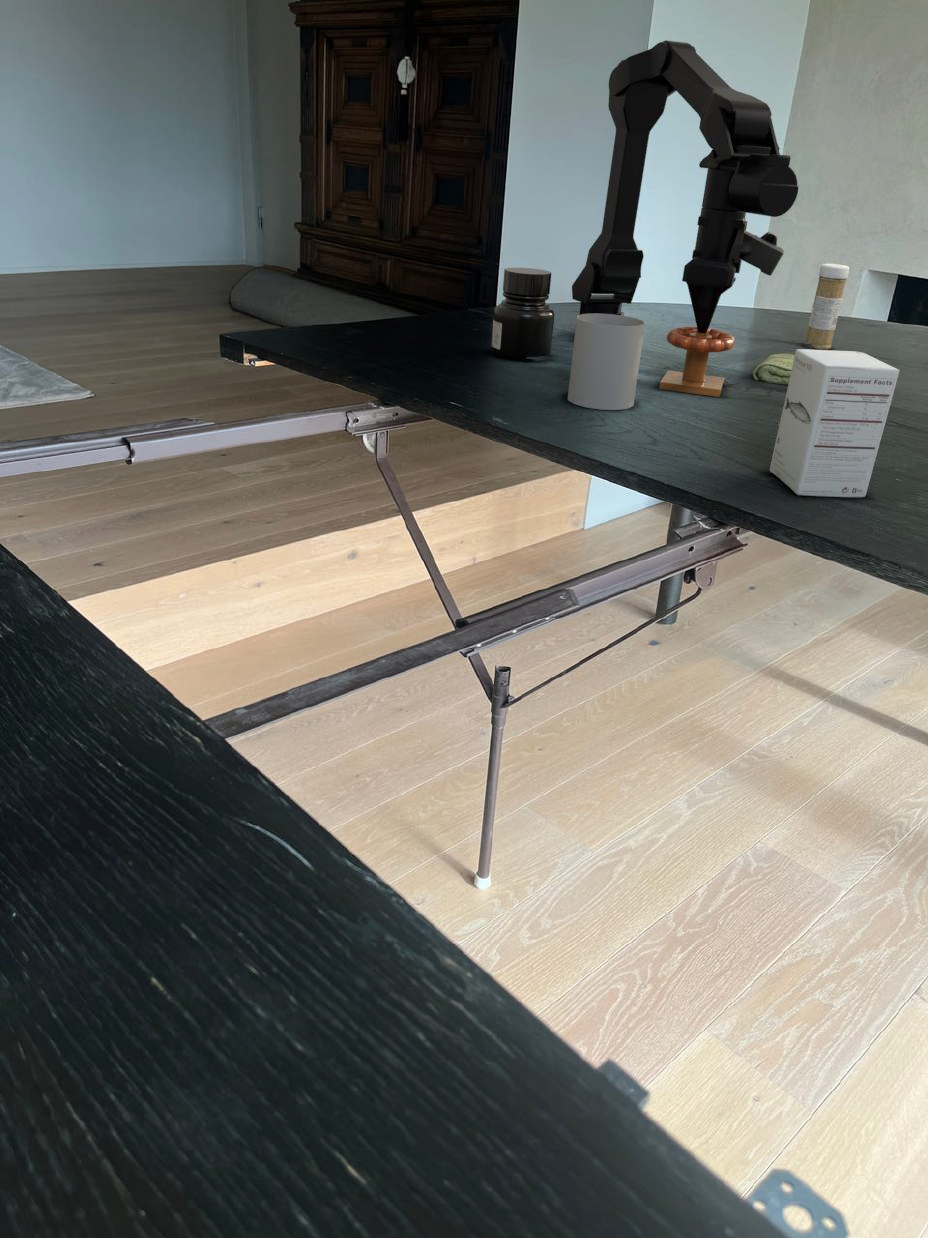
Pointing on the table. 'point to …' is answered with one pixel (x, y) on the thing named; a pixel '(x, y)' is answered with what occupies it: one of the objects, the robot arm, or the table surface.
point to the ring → (700, 340)
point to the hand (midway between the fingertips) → (702, 332)
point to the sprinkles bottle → (826, 305)
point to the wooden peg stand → (694, 374)
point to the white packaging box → (832, 422)
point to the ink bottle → (523, 315)
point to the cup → (605, 361)
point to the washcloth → (775, 369)
